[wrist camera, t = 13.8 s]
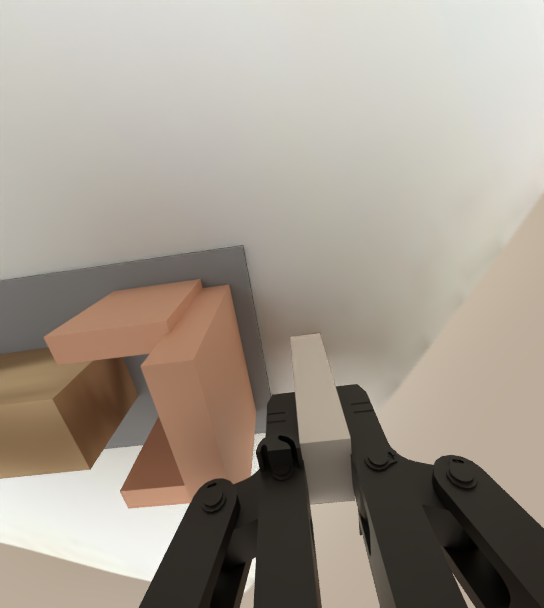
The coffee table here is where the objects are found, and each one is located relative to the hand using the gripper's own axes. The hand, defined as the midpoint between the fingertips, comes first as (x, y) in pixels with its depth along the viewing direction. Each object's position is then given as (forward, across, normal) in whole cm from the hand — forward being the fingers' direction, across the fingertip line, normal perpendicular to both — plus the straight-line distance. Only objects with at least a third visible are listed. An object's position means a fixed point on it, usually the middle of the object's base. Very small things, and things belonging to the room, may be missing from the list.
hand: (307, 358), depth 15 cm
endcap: (+1, -6, 0) cm, 7 cm away
